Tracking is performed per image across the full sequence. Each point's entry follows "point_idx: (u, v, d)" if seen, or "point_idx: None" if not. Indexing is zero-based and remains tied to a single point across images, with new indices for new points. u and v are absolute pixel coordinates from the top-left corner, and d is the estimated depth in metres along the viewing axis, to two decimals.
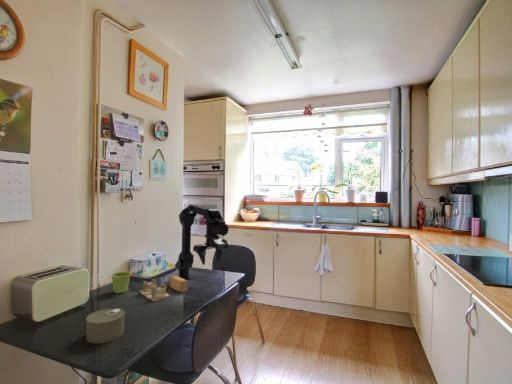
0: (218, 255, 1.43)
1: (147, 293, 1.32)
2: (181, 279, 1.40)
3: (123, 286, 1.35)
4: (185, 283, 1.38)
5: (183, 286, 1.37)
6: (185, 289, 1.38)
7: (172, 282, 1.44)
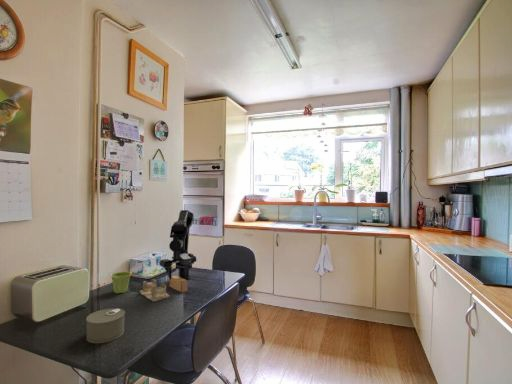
0: (186, 269, 1.46)
1: (147, 293, 1.32)
2: (181, 279, 1.40)
3: (123, 286, 1.35)
4: (185, 283, 1.38)
5: (183, 286, 1.37)
6: (185, 289, 1.38)
7: (172, 282, 1.44)
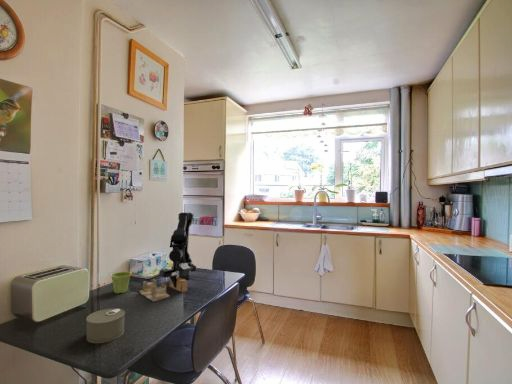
0: None
1: (147, 293, 1.32)
2: (181, 279, 1.40)
3: (123, 286, 1.35)
4: (185, 283, 1.38)
5: (183, 286, 1.37)
6: (185, 289, 1.38)
7: None
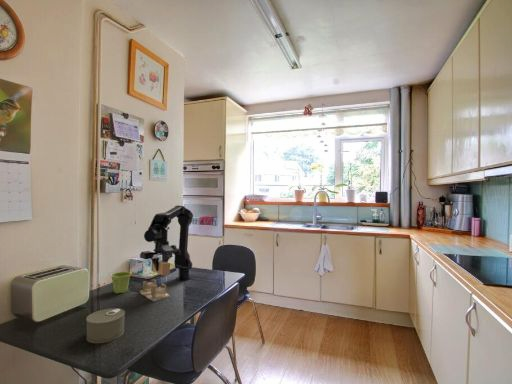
0: None
1: (147, 293, 1.32)
2: (164, 262, 1.33)
3: (123, 286, 1.35)
4: (168, 266, 1.31)
5: (166, 269, 1.30)
6: (167, 272, 1.31)
7: None
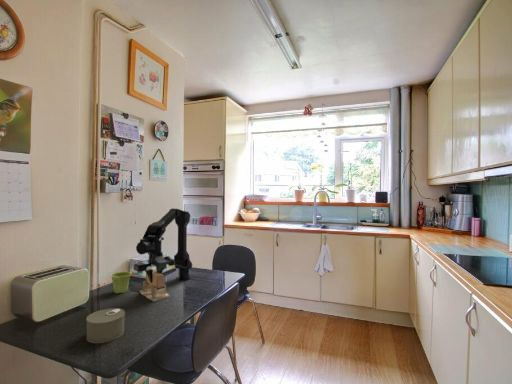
0: None
1: (147, 293, 1.32)
2: (157, 274, 1.31)
3: (123, 286, 1.35)
4: (161, 278, 1.29)
5: (159, 281, 1.28)
6: (161, 284, 1.29)
7: None
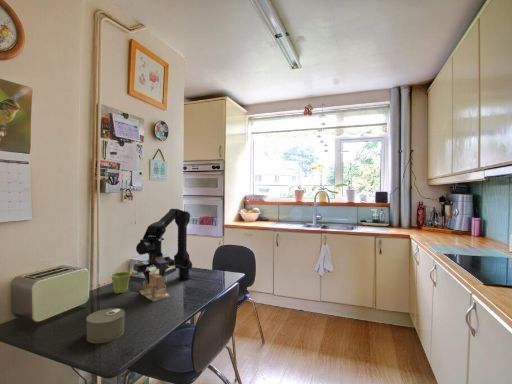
0: (160, 274, 1.35)
1: (147, 293, 1.32)
2: (157, 275, 1.31)
3: (123, 286, 1.35)
4: (161, 280, 1.29)
5: (159, 283, 1.28)
6: (161, 286, 1.29)
7: None
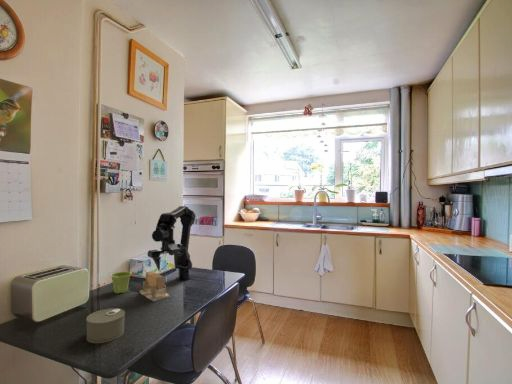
0: (175, 260, 1.43)
1: (147, 293, 1.32)
2: (157, 275, 1.31)
3: (123, 286, 1.35)
4: (161, 280, 1.29)
5: (159, 283, 1.28)
6: (161, 286, 1.29)
7: (148, 279, 1.34)
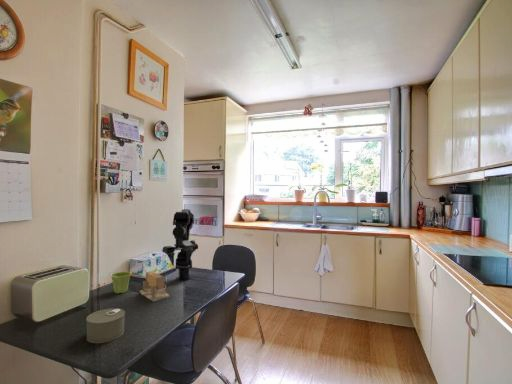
0: (188, 256, 1.50)
1: (147, 293, 1.32)
2: (157, 275, 1.31)
3: (123, 286, 1.35)
4: (161, 280, 1.29)
5: (159, 283, 1.28)
6: (161, 286, 1.29)
7: (148, 279, 1.34)
